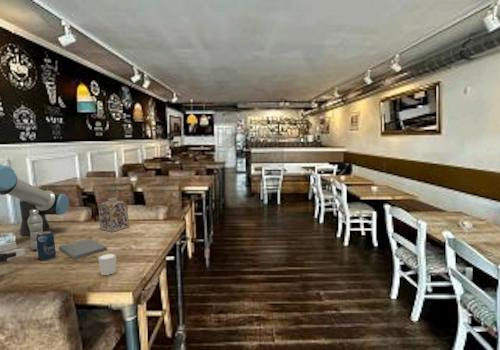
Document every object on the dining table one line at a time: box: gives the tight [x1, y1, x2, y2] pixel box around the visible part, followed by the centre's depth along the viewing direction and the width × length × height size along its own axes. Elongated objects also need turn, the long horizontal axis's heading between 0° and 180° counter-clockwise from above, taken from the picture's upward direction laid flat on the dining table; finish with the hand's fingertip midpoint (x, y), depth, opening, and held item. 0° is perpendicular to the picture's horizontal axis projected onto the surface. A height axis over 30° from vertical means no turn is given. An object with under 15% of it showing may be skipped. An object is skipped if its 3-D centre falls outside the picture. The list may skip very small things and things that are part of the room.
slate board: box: [58, 238, 108, 260], centre depth 170 cm, size 20×15×2 cm
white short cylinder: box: [97, 253, 117, 276], centre depth 142 cm, size 7×7×7 cm
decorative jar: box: [98, 197, 130, 233], centre depth 204 cm, size 12×12×18 cm
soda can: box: [36, 230, 57, 261], centre depth 160 cm, size 7×7×12 cm
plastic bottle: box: [27, 209, 43, 251], centre depth 172 cm, size 6×7×20 cm
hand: (20, 247), depth 153 cm, fingers open, 13 cm apart
